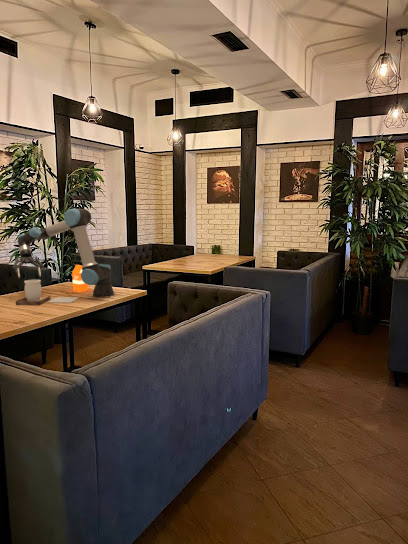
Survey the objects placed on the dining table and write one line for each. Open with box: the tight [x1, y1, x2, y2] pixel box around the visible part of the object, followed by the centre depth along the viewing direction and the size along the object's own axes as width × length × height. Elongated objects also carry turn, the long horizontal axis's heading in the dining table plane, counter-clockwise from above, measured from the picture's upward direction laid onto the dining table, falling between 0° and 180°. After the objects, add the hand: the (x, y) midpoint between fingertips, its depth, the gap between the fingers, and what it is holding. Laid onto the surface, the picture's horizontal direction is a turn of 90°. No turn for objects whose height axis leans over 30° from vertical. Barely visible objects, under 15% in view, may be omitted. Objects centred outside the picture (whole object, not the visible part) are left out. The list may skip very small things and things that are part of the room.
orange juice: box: [71, 264, 89, 293], centre depth 313 cm, size 8×9×20 cm
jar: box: [23, 278, 42, 301], centre depth 271 cm, size 11×10×15 cm
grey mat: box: [47, 296, 80, 304], centre depth 279 cm, size 16×16×1 cm
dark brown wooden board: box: [15, 295, 52, 306], centre depth 272 cm, size 16×17×2 cm
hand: (29, 276), depth 279 cm, fingers open, 13 cm apart
